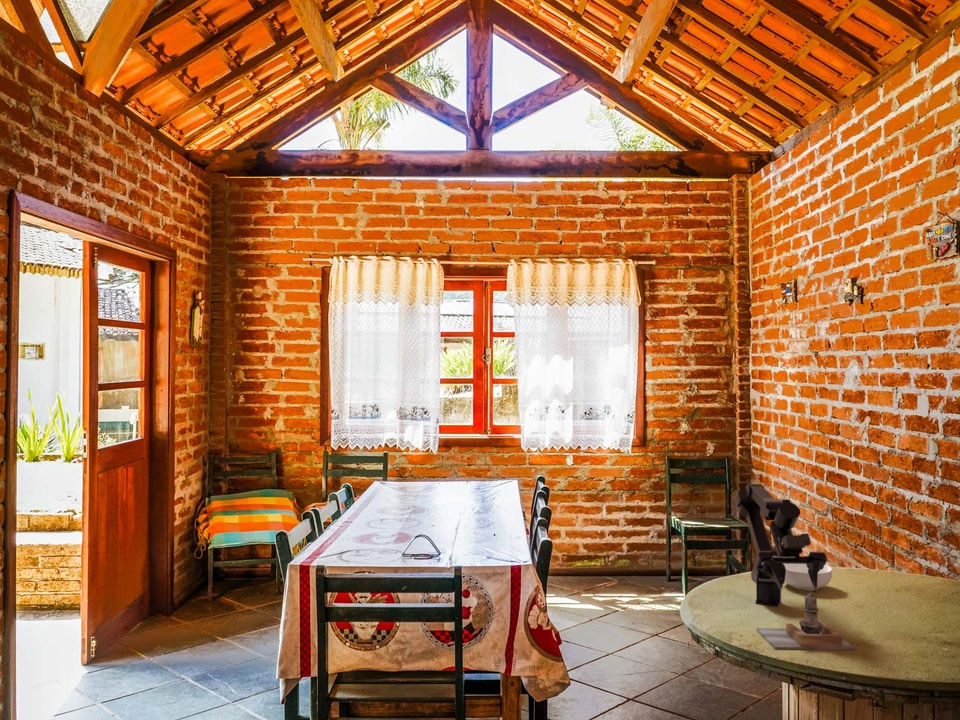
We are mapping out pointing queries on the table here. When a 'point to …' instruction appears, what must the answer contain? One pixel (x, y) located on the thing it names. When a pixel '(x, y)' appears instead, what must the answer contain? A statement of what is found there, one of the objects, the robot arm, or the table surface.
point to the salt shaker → (810, 616)
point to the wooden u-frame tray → (804, 639)
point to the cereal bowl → (806, 576)
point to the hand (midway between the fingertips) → (798, 587)
